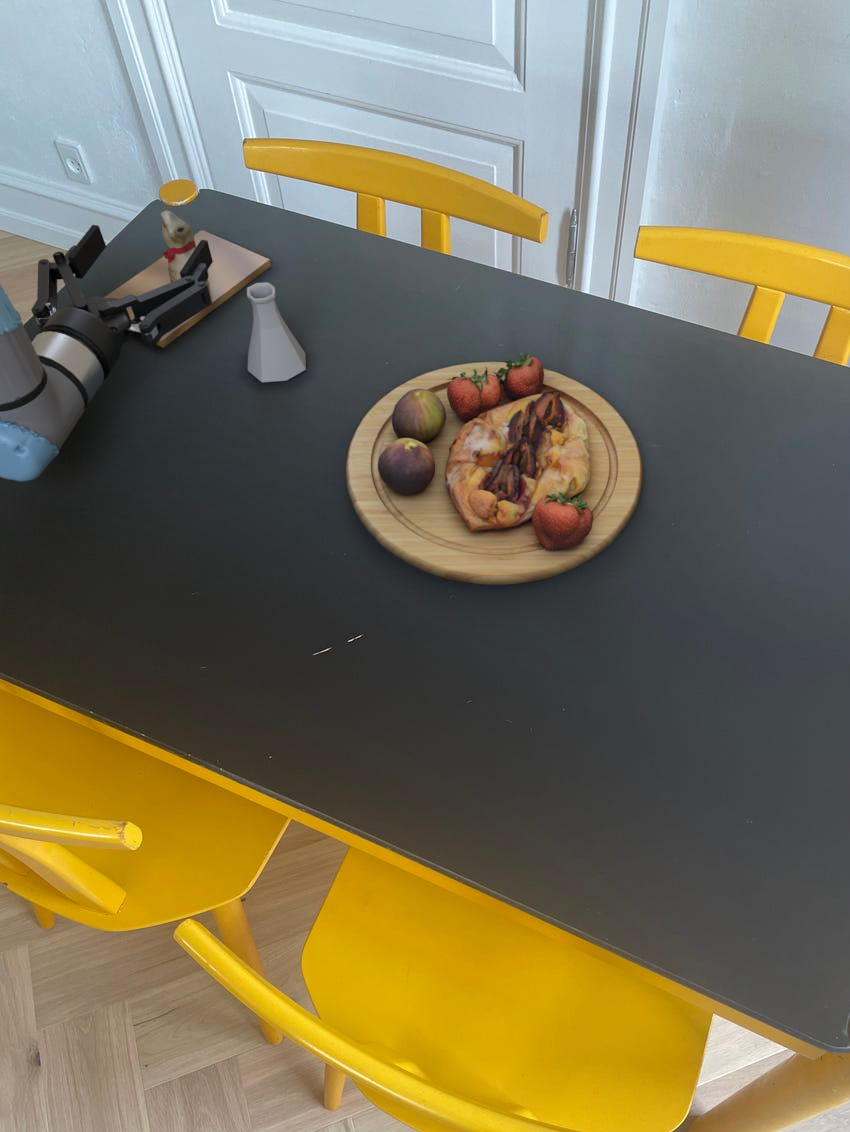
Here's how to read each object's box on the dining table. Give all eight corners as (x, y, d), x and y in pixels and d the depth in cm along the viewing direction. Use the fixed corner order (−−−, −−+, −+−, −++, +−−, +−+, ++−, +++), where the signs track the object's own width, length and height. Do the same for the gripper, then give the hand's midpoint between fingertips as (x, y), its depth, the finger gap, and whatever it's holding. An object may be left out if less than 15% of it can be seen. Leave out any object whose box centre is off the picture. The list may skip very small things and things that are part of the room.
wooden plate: (687, 552, 91) (705, 497, 84) (383, 622, 86) (376, 569, 79) (581, 355, 108) (589, 295, 101) (322, 403, 103) (311, 344, 96)
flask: (315, 373, 106) (302, 300, 97) (257, 391, 104) (238, 318, 95) (296, 338, 109) (281, 264, 101) (239, 354, 107) (219, 280, 99)
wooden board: (163, 348, 108) (160, 341, 107) (93, 313, 111) (90, 306, 111) (271, 266, 117) (269, 259, 116) (203, 236, 121) (201, 229, 120)
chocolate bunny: (221, 267, 115) (202, 193, 107) (200, 305, 111) (178, 230, 102) (180, 263, 116) (158, 188, 107) (158, 300, 111) (133, 225, 103)
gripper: (-21, 369, 98) (67, 258, 110) (192, 403, 96) (259, 285, 107) (-54, 311, 92) (43, 199, 103) (172, 345, 89) (246, 227, 101)
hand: (153, 242), depth 105 cm, fingers open, 13 cm apart
